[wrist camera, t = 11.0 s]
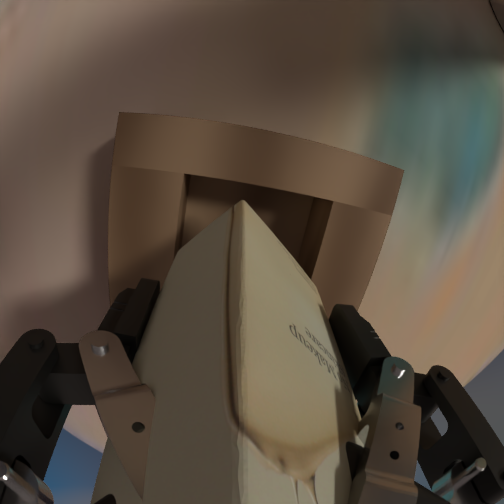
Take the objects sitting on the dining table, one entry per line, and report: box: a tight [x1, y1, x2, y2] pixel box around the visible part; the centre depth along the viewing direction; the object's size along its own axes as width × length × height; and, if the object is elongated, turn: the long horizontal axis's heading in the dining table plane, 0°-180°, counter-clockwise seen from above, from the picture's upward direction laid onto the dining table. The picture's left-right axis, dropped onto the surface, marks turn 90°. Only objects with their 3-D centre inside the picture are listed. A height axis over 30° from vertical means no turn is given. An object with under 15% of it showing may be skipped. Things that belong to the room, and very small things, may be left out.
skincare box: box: [91, 200, 364, 504], centre depth 9 cm, size 6×4×12 cm
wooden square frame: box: [108, 112, 404, 320], centre depth 16 cm, size 14×14×4 cm
